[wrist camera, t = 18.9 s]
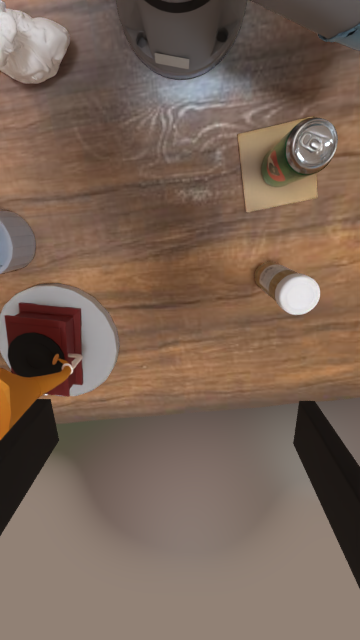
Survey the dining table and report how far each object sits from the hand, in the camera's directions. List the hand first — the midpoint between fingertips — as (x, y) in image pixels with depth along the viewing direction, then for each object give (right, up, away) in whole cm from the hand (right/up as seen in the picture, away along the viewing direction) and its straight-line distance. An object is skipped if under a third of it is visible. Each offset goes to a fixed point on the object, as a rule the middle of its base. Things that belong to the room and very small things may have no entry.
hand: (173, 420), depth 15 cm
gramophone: (-20, +2, +34) cm, 40 cm away
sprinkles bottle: (+14, +13, +29) cm, 35 cm away
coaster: (+14, +27, +24) cm, 38 cm away
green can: (+14, +26, +23) cm, 38 cm away
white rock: (-18, +39, +21) cm, 48 cm away
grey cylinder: (-27, +18, +29) cm, 43 cm away
